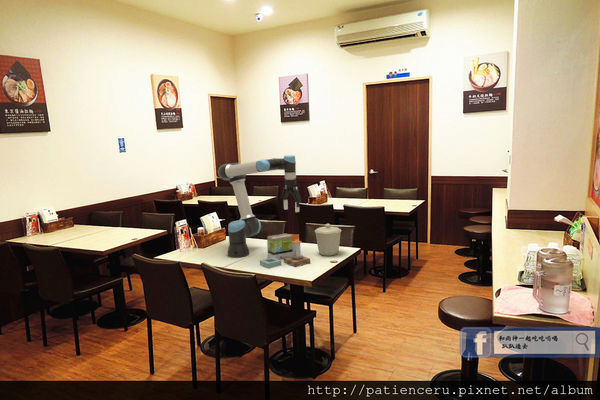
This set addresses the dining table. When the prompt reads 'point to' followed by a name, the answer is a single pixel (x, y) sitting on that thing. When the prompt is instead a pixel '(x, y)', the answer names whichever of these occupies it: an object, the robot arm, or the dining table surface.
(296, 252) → the lock pin
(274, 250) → the tea box
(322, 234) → the canister
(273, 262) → the mount
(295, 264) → the tray
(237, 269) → the dining table surface
